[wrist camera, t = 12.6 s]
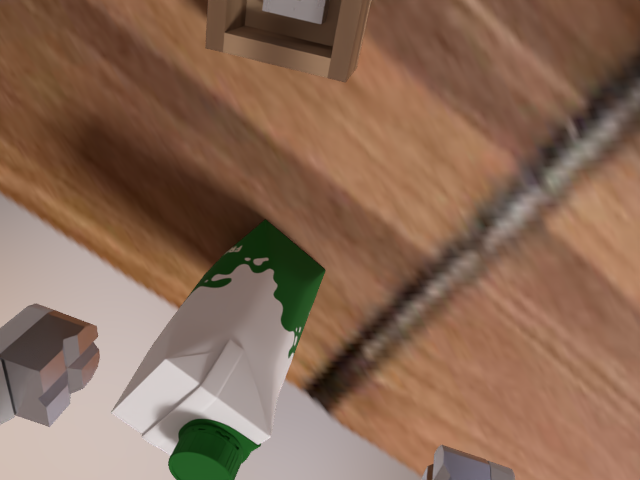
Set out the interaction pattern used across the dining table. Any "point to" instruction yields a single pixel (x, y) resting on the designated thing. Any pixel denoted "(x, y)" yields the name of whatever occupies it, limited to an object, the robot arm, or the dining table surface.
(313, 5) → the grey block
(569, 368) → the dining table surface
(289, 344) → the milk carton
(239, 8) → the wooden tray
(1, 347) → the robot arm
